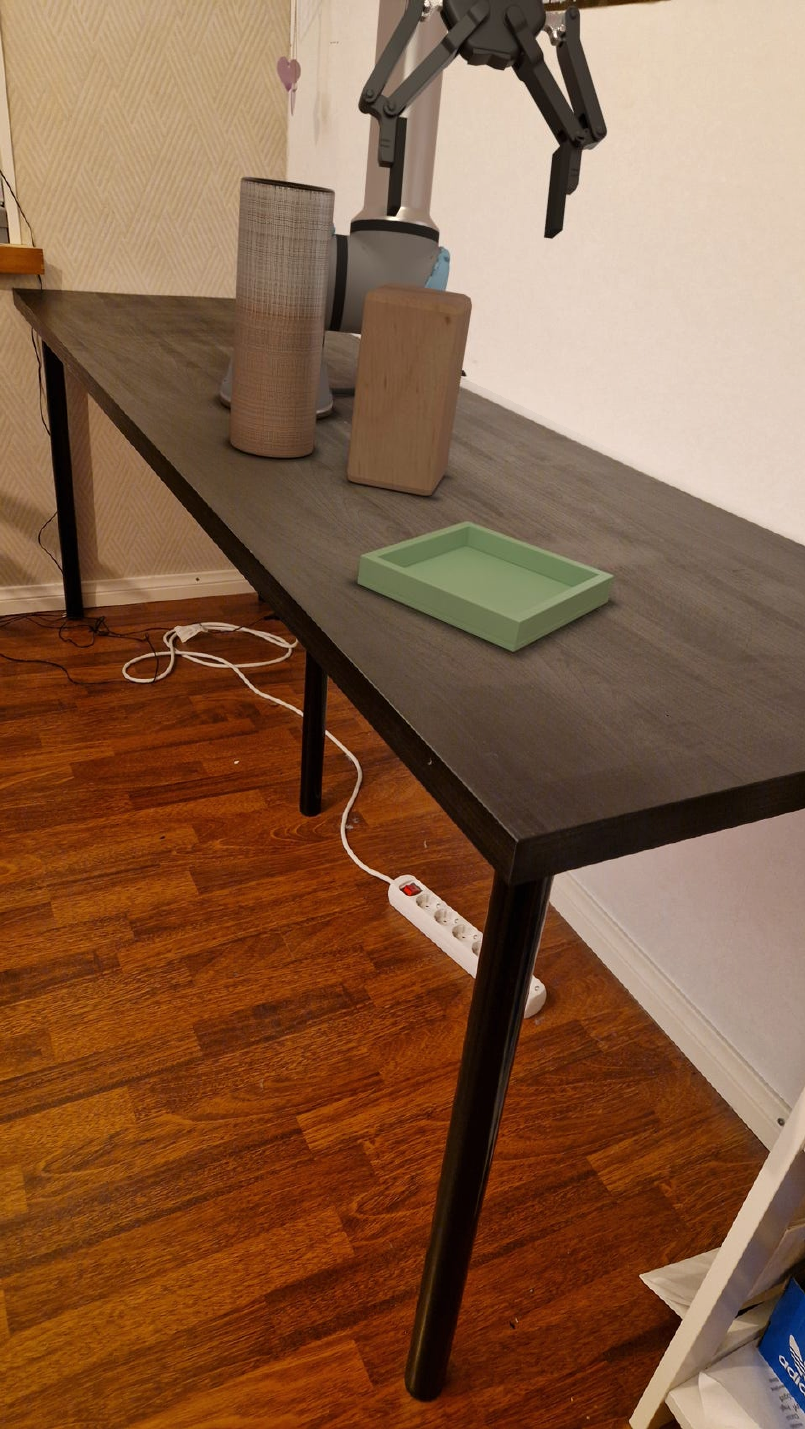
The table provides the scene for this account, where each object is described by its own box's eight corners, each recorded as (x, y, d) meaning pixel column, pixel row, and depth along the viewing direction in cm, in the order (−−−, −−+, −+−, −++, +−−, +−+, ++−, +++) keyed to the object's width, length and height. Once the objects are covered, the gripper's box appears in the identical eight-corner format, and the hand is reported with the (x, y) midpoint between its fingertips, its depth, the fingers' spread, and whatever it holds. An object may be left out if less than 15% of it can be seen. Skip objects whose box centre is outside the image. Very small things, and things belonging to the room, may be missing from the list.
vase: (212, 443, 113) (220, 174, 99) (264, 431, 121) (279, 179, 107) (279, 464, 109) (298, 188, 95) (329, 450, 117) (353, 192, 103)
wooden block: (431, 500, 105) (461, 304, 95) (343, 483, 106) (363, 288, 96) (446, 476, 114) (474, 295, 104) (364, 461, 115) (385, 279, 105)
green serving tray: (462, 546, 94) (467, 520, 93) (607, 602, 86) (614, 575, 85) (356, 583, 82) (360, 555, 81) (513, 652, 75) (519, 622, 73)
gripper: (347, -133, 69) (328, 187, 74) (669, -67, 74) (634, 231, 78) (336, -73, 77) (319, 215, 81) (630, -16, 81) (600, 254, 85)
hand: (474, 223), depth 80 cm, fingers open, 13 cm apart
